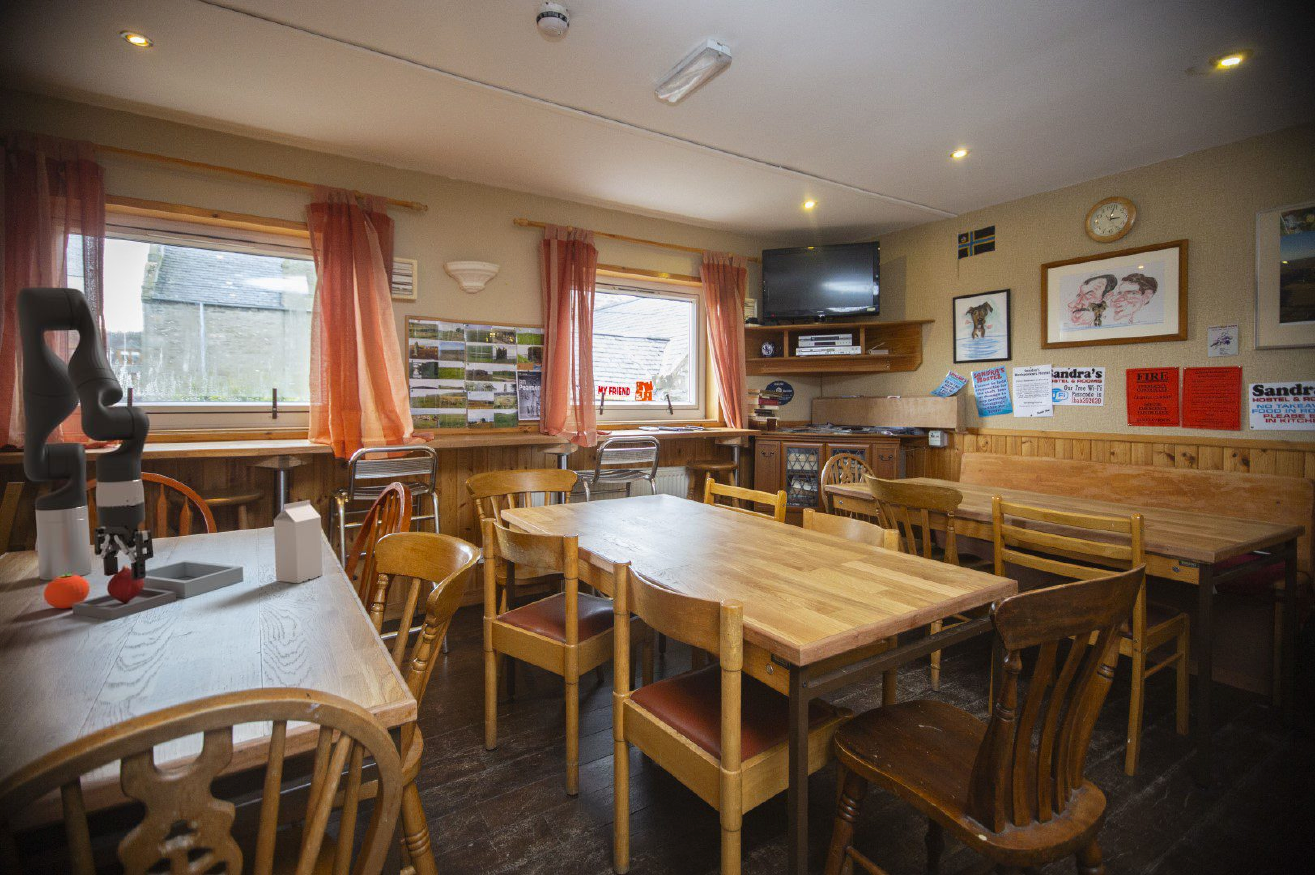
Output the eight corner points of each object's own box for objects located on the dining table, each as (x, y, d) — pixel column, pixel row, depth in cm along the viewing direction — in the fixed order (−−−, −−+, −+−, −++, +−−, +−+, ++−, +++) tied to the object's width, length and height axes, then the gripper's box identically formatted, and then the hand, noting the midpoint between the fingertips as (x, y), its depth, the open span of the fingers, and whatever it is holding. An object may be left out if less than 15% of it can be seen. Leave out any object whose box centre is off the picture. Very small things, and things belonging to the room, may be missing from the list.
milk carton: (323, 576, 150) (320, 500, 149) (297, 584, 144) (294, 505, 142) (301, 573, 153) (298, 499, 151) (275, 581, 146) (272, 503, 145)
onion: (151, 599, 130) (151, 562, 130) (124, 607, 125) (124, 569, 125) (127, 598, 131) (127, 562, 131) (99, 606, 125) (99, 568, 125)
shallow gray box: (125, 589, 139) (124, 575, 139) (186, 573, 152) (185, 560, 152) (185, 598, 133) (184, 582, 133) (243, 581, 146) (242, 566, 146)
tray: (72, 613, 124) (72, 603, 124) (138, 595, 135) (137, 586, 135) (111, 620, 120) (111, 610, 120) (175, 600, 132) (175, 591, 132)
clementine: (44, 606, 128) (41, 573, 128) (88, 598, 133) (86, 567, 133) (45, 615, 123) (43, 581, 122) (92, 607, 128) (90, 574, 127)
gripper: (76, 502, 125) (81, 578, 126) (123, 506, 121) (127, 586, 122) (118, 496, 132) (122, 569, 133) (163, 500, 128) (167, 575, 129)
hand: (125, 577), depth 128 cm, fingers open, 8 cm apart
